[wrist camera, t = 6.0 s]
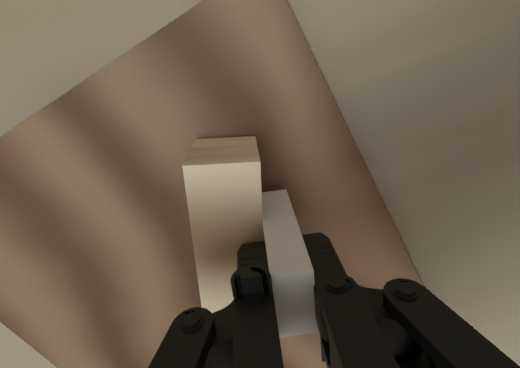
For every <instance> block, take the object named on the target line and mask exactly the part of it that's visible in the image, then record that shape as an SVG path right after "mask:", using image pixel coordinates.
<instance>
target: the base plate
mask: <svg viewBox="0 0 520 368" xmlns="http://www.w3.org/2000/svg"><path fill="white" fill-rule="evenodd" d="M247 136H255V137H256V142H257V147H258V152H259V157H260V163H261V189H262V192H269V191H276V190H284V189H286V190H287V193H288V196H289V199H290V202H291V205H292V208H293V211H294V214H295V217H296V219H297V222H298V225H299V228H300V231H301V234H302V235H305V234H312V233H319V232H322V233H323V234H324V235H326V236H327V237H328V238H329V239H330V241H331V243H332V245H333V247H334V249H335V251H336V253H337V255H338V258H339V260H340V262H341V264H342V266H343V268H344V270H345V272H346V274H347V275H348V276H350V277H351V278H353V279H354V280H355V282H356V283H357V284H358V285H360V286H363V287H367V288H374V289H383V287H384V285H385V284H386V282H388V281H390V280H392V279H397V278H404V279H410V280H413V281H416V282H418V283H419V284H421V285H423V284H422V282H421V279H420V277H419V275H418V273H417V271H416V269H415V267H414V265H413V263H412V261H411V259H410V256H409V254H408V252H407V250H406V248H405V246H404V244H403V242H402V240H401V238H400V235H399V233H398V231H397V229H396V227H395V225H394V223H393V221H392V219H391V217H390V215H389V212H388V210H387V208H386V206H385V204H384V202H383V200H382V198H381V196H380V194H379V191H378V189H377V187H376V185H375V183H374V181H373V179H372V177H371V175H370V173H369V170H368V168H367V166H366V164H365V162H364V160H363V158H362V156H361V154H360V152H359V150H358V147H357V145H356V143H355V141H354V139H353V137H352V135H351V133H350V131H349V129H348V126H347V124H346V122H345V120H344V118H343V116H342V114H341V112H340V110H339V108H338V106H337V103H336V101H335V99H334V97H333V95H332V93H331V91H330V89H329V87H328V85H327V82H326V80H325V78H324V76H323V74H322V72H321V70H320V68H319V66H318V64H317V62H316V59H315V57H314V55H313V53H312V51H311V49H310V47H309V45H308V43H307V41H306V38H305V36H304V34H303V32H302V30H301V28H300V26H299V24H298V22H297V20H296V17H295V15H294V13H293V11H292V9H291V7H290V5H289V3H288V1H287V0H203V1H202V2H200V3H199V4H197V5H196V6H194V7H193V8H191V9H190V10H189V11H187V12H186V13H184V14H183V15H181V16H180V17H178V18H177V19H175V20H174V21H172V22H171V23H169V24H168V25H166V26H165V27H163V28H162V29H160V30H159V31H157V32H156V33H155V34H153V35H152V36H150V37H149V38H147V39H146V40H144V41H143V42H141V43H140V44H138V45H137V46H135V47H134V48H132V49H131V50H129V51H128V52H126V53H125V54H123V55H122V56H121V57H119V58H118V59H116V60H115V61H113V62H112V63H110V64H109V65H107V66H106V67H104V68H103V69H101V70H100V71H98V72H97V73H95V74H94V75H92V76H91V77H89V78H88V79H86V80H85V81H84V82H82V83H81V84H79V85H78V86H76V87H75V88H73V89H72V90H70V91H69V92H67V93H66V94H64V95H63V96H61V97H60V98H58V99H57V100H55V101H54V102H52V103H51V104H50V105H48V106H47V107H45V108H44V109H42V110H41V111H39V112H38V113H36V114H35V115H33V116H32V117H30V118H29V119H27V120H26V121H24V122H23V123H21V124H20V125H18V126H17V127H16V128H14V129H13V130H11V131H10V132H8V133H7V134H5V135H4V136H2V137H1V138H0V322H1V323H2V324H4V325H5V326H6V327H7V328H9V329H10V330H11V331H12V332H14V333H15V334H16V335H17V336H19V337H20V338H21V339H22V340H24V341H25V342H26V343H27V344H29V345H30V346H31V347H32V348H34V349H35V350H36V351H37V352H39V353H40V354H41V355H42V356H44V357H45V358H46V359H47V360H49V361H50V362H51V363H52V364H54V365H55V366H56V367H57V368H148V367H149V365H150V363H151V361H152V359H153V357H154V355H155V354H156V352H157V350H158V348H159V346H160V344H161V342H162V341H163V339H164V337H165V335H166V333H167V331H168V329H169V327H170V326H171V324H172V322H173V320H174V319H175V318H176V317H177V315H179V314H180V313H182V312H183V311H185V310H187V309H190V308H194V307H201V299H200V292H199V285H198V278H197V270H196V263H195V256H194V248H193V241H192V234H191V226H190V219H189V212H188V204H187V197H186V190H185V182H184V175H183V168H182V165H183V163H184V161H185V159H186V157H187V155H188V153H189V151H190V149H191V147H192V144H193V142H194V140H195V139H208V138H227V137H247ZM263 241H265V238H264V230H263ZM317 326H318V325H317ZM280 345H281V352H282V359H283V366H284V368H327V366H326V362H325V361H323V362H322V354H321V338H320V332H319V328H318V333H312V334H304V335H298V336H290V337H283V338H280Z"/></svg>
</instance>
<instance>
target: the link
mask: <svg viewBox="0 0 520 368" xmlns="http://www.w3.org/2000/svg"><path fill="white" fill-rule="evenodd" d="M182 168H183V175H184V182H185V190H186V197H187V204H188V212H189V219H190V226H191V234H192V241H193V248H194V256H195V263H196V270H197V278H198V285H199V292H200V299H201V307H202V308H206V309H208V310H209V311H210V312H211V313H214V312H216V311H219V310H221V309H223V308H225V307H227V306H228V305H229V304H230V303H231V302H232V301H233V300H234V298H233V293H232V288H231V282H230V279H231V276H232V274H233V273H234V272H235V271H236V270H237V251H238V249H239V248H240V246H241V245H242V244H245V243H252V242H259V241H263V223H262V222H263V216H262V189H261V163H260V157H259V152H258V147H257V142H256V137H255V136H247V137H227V138H208V139H195V140H194V142H193V144H192V147H191V149H190V151H189V153H188V155H187V157H186V159H185V161H184V163H183V165H182Z"/></svg>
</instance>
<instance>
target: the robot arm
mask: <svg viewBox="0 0 520 368" xmlns="http://www.w3.org/2000/svg"><path fill="white" fill-rule="evenodd" d="M262 216H263V222H262V223H263V230H264V238H265V241H259V242H252V243H245V244H242V245H241V246H240V248H239V249H238V251H237V270H236V271H235V272H234V273H233V274H232V276H231V279H230V282H231V288H232V293H233V298H234V300H233V301H232V302H231V303H230V304H229V305H228V306H227V307H225V308H223V309H221V310H219V311H216V312H214V313H211V312H210V311H209V310H208V309H206V308H202V307H194V308H190V309H187V310H185V311H183V312H182V313H180V314H179V315H177V317H176V318H175V319H174V320H173V322H172V324H171V326H170V327H169V329H168V331H167V333H166V335H165V337H164V339H163V341H162V342H161V344H160V346H159V348H158V350H157V352H156V354H155V355H154V357H153V359H152V361H151V363H150V365H149V367H148V368H284V366H283V359H282V352H281V345H280V338H283V337H290V336H298V335H304V334H312V333H318V328H319V332H320V338H321V354H322V362H323V361H325V362H326V366H327V368H520V366H518V365H517V364H516V363H515V362H514V361H512V360H511V359H510V358H509V357H508V356H506V355H505V354H504V353H503V352H502V351H501V350H499V349H498V348H497V347H496V346H495V345H493V344H492V343H491V342H490V341H489V340H487V339H486V338H485V337H484V336H483V335H481V334H480V333H479V332H478V331H477V330H475V329H474V328H473V327H472V326H471V325H469V324H468V323H467V322H466V321H465V320H463V319H462V318H461V317H460V316H459V315H457V314H456V313H455V312H454V311H453V310H451V309H450V308H449V307H448V306H447V305H445V304H444V303H443V302H442V301H441V300H440V299H438V298H437V297H436V296H435V295H434V294H432V293H431V292H430V291H429V290H428V289H426V288H425V287H424V286H423V285H421V284H419V283H418V282H416V281H413V280H410V279H404V278H397V279H392V280H390V281H388V282H386V284H385V285H384V287H383V289H374V288H367V287H363V286H360V285H358V284H357V283H356V282H355V280H354V279H353V278H351V277H350V276H348V275H347V274H346V272H345V270H344V268H343V266H342V264H341V262H340V260H339V258H338V255H337V253H336V251H335V249H334V247H333V245H332V243H331V241H330V239H329V238H328V237H327V236H326V235H324V234H323V233H322V232H319V233H312V234H305V235H302V234H301V231H300V228H299V225H298V222H297V219H296V217H295V214H294V211H293V208H292V205H291V202H290V199H289V196H288V193H287V190H286V189H284V190H276V191H269V192H262ZM317 325H318V326H317Z"/></svg>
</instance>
